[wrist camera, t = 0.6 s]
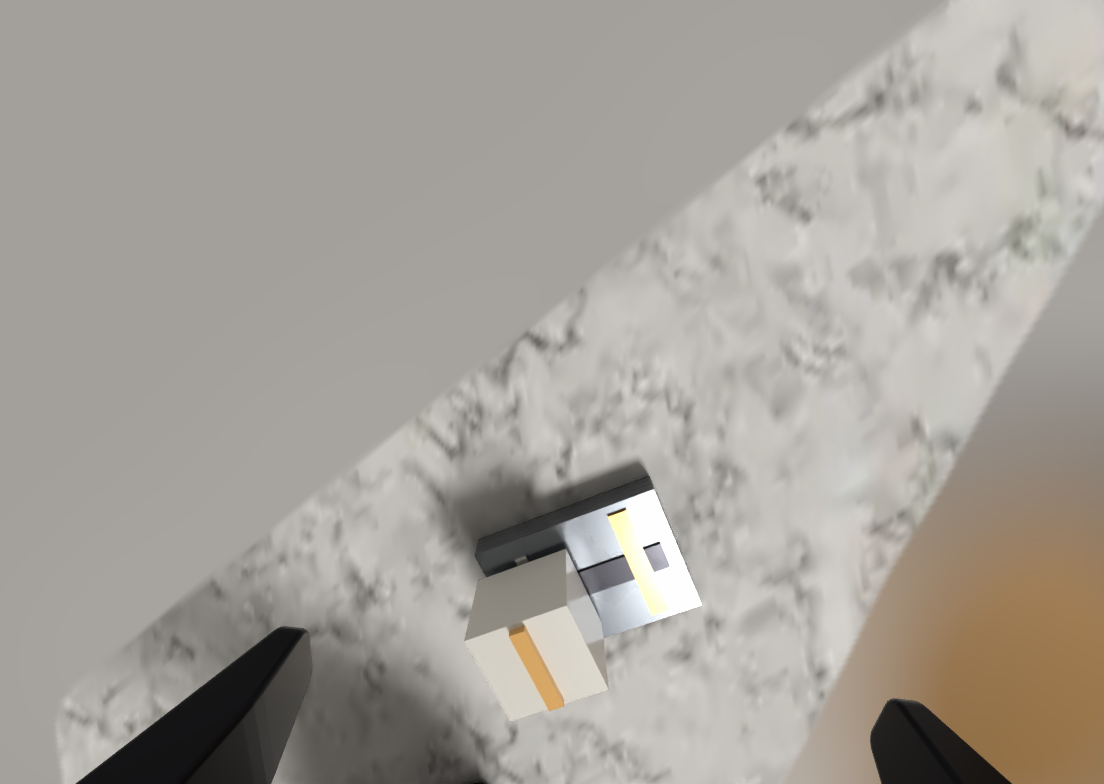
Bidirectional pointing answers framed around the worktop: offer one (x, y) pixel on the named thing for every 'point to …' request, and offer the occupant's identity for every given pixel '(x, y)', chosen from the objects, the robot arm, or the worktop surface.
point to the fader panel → (606, 554)
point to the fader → (537, 636)
